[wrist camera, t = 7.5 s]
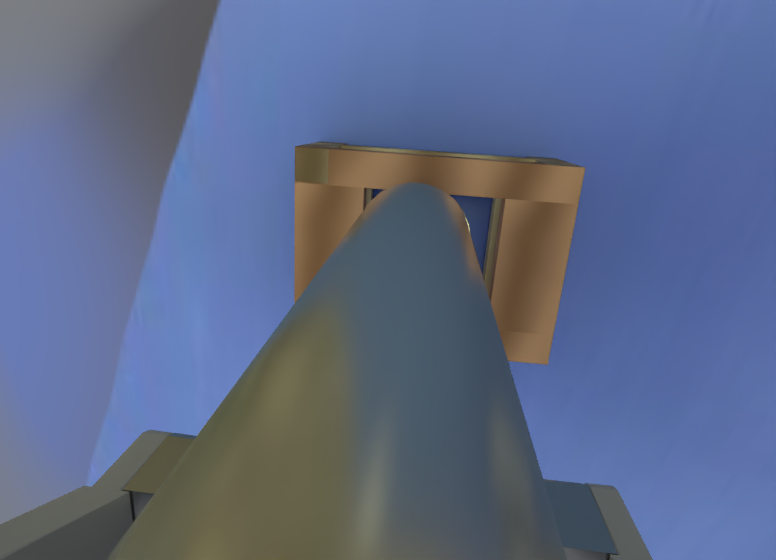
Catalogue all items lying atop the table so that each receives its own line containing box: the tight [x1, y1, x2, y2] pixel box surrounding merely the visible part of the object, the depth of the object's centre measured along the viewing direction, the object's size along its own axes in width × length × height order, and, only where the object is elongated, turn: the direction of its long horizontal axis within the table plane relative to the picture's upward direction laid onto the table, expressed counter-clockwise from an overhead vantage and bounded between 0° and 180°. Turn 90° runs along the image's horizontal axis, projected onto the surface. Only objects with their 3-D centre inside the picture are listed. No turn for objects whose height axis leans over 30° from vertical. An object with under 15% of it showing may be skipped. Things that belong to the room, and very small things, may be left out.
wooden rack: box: [295, 142, 585, 365], centre depth 39 cm, size 20×15×8 cm
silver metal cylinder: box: [106, 182, 567, 560], centre depth 16 cm, size 6×6×25 cm
